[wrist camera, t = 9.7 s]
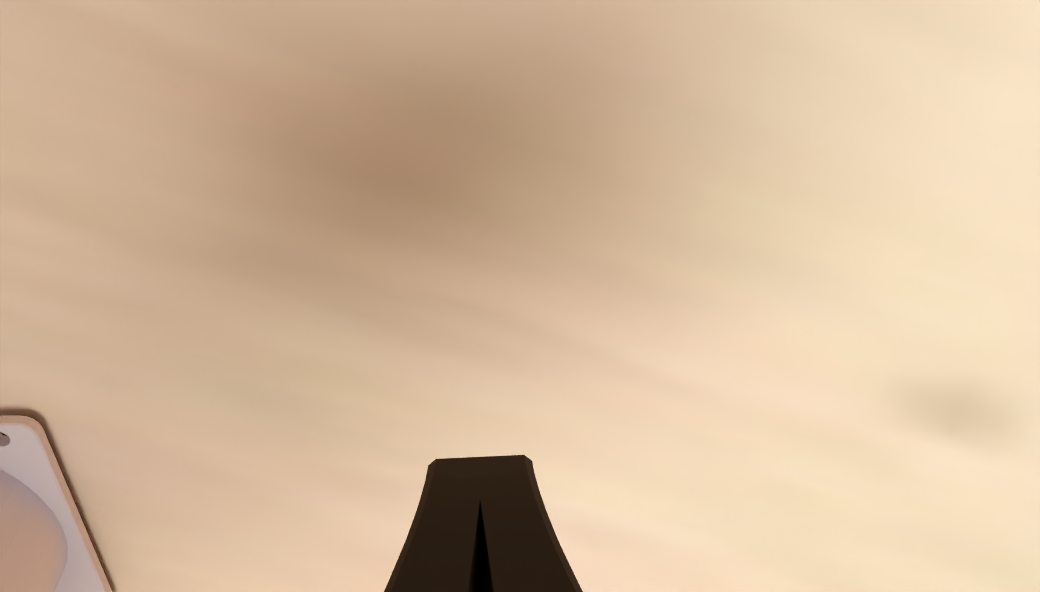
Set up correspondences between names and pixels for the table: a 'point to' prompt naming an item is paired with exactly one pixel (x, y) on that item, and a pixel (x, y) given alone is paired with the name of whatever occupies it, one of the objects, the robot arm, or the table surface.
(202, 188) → the table surface
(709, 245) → the table surface
